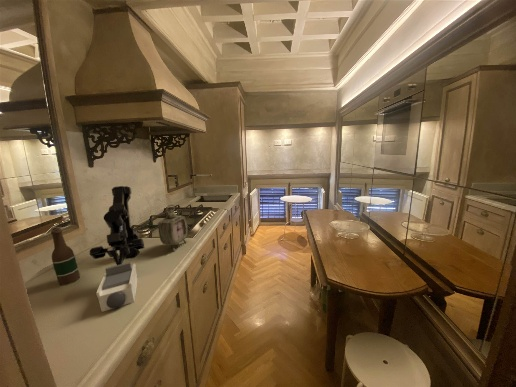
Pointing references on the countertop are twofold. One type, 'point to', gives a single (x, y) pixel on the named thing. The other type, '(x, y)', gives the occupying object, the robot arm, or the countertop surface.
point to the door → (117, 275)
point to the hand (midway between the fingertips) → (119, 267)
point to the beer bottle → (63, 260)
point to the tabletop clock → (173, 229)
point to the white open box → (117, 293)
